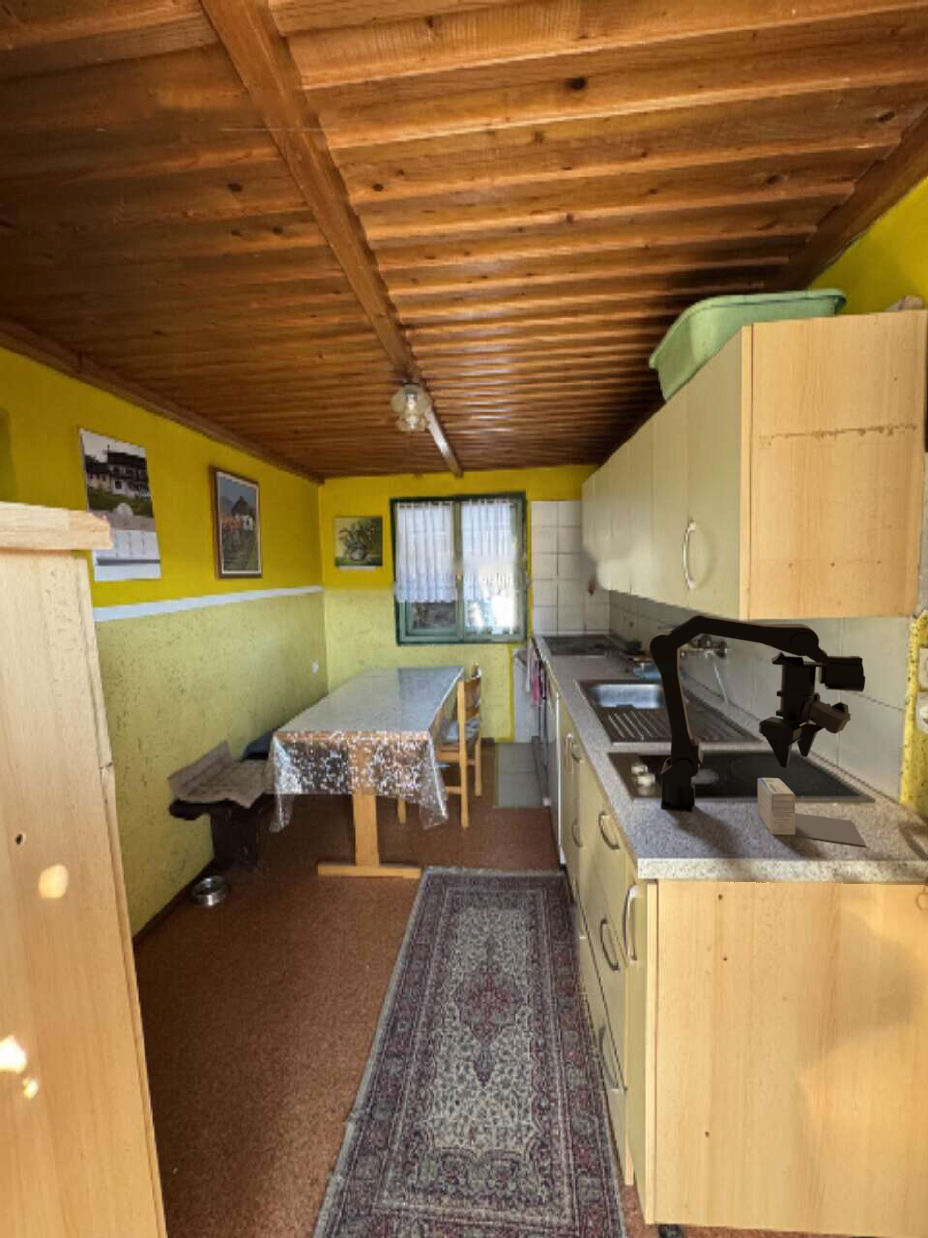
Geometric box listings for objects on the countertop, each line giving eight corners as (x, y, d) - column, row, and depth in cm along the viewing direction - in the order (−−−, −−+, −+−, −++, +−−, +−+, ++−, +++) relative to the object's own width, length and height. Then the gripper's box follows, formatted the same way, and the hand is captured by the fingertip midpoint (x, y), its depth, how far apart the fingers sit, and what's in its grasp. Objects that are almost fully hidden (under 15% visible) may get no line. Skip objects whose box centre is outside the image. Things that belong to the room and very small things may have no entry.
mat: (796, 836, 99) (796, 835, 99) (788, 813, 108) (788, 812, 108) (865, 847, 94) (865, 845, 94) (851, 822, 103) (851, 820, 103)
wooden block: (795, 836, 99) (796, 794, 98) (770, 835, 100) (771, 793, 99) (780, 817, 107) (780, 777, 106) (756, 816, 108) (757, 777, 107)
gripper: (824, 703, 89) (820, 787, 91) (864, 687, 100) (859, 762, 102) (758, 691, 99) (756, 768, 100) (801, 677, 109) (798, 747, 111)
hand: (794, 761), depth 103 cm, fingers open, 9 cm apart
